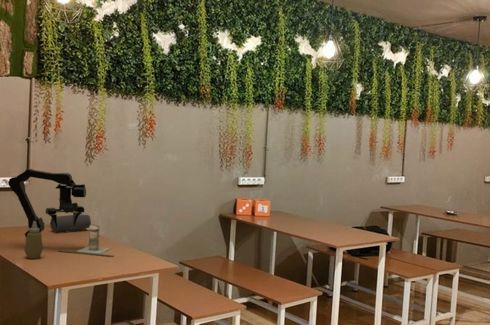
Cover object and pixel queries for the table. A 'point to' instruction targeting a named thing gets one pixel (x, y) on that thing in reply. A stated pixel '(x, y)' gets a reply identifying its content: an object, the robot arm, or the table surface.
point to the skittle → (94, 237)
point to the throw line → (87, 253)
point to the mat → (86, 250)
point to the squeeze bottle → (33, 242)
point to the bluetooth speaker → (70, 223)
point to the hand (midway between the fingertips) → (65, 226)
